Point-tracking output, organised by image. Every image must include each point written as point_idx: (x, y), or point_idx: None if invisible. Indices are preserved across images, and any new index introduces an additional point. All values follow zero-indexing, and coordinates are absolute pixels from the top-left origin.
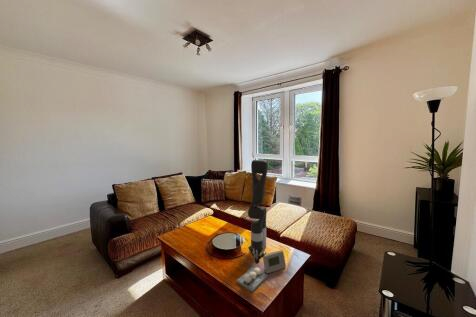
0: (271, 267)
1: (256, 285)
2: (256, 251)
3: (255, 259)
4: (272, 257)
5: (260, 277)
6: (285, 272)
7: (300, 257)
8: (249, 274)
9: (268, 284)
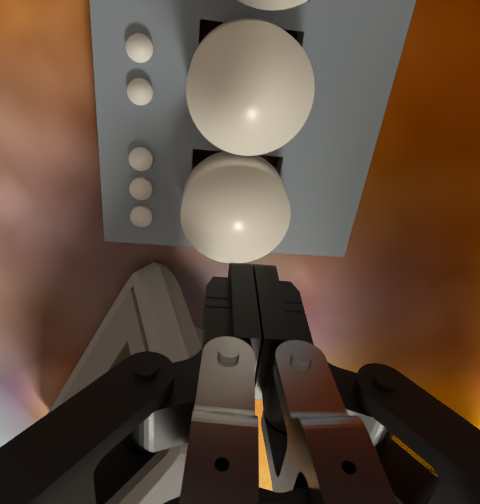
0: (111, 348)
1: None
2: None
3: (274, 318)
4: None
5: (150, 147)
6: (10, 369)
7: None
8: (273, 9)
9: (19, 121)
